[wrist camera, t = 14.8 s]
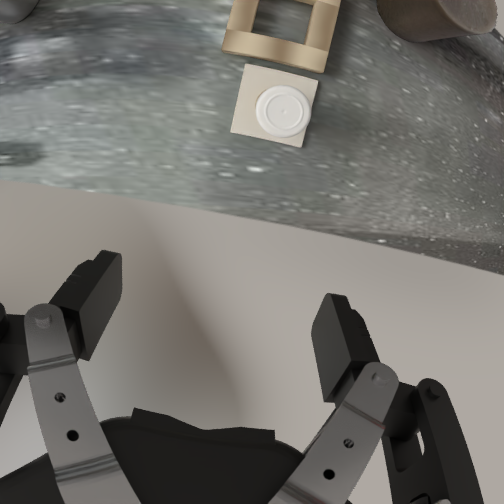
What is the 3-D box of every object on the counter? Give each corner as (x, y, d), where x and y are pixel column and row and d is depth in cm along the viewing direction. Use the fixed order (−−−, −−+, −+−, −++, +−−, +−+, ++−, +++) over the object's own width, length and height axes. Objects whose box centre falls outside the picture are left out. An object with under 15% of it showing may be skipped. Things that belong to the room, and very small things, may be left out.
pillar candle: (364, 11, 28) (419, -18, 15) (394, -30, 24) (450, -64, 11) (420, 56, 31) (490, 53, 18) (446, 13, 27) (514, 1, 14)
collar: (223, 52, 32) (221, 49, 30) (244, -27, 26) (243, -34, 24) (319, 73, 33) (323, 72, 31) (338, -5, 28) (343, -11, 25)
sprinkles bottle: (271, 81, 33) (281, 73, 22) (299, 105, 35) (323, 110, 23) (247, 107, 35) (243, 114, 23) (275, 131, 36) (286, 149, 25)
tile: (230, 131, 37) (230, 132, 36) (245, 63, 33) (245, 63, 32) (300, 146, 38) (301, 147, 37) (317, 80, 34) (318, 80, 33)
